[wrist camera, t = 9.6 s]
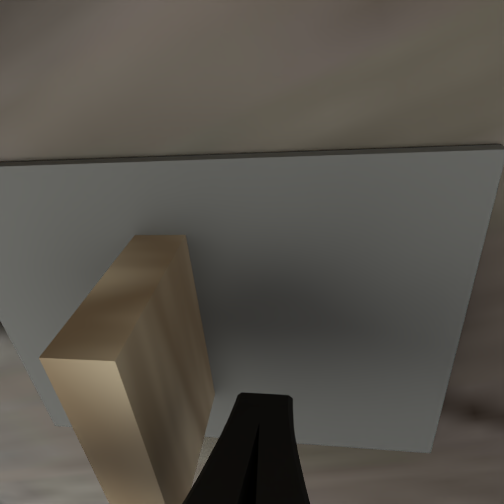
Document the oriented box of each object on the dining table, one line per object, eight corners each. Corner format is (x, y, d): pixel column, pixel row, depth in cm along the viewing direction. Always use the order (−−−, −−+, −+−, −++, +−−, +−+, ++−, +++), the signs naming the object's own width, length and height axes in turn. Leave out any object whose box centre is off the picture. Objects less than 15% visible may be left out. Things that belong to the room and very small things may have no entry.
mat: (500, 144, 10) (507, 149, 9) (428, 443, 16) (430, 453, 16) (-68, 164, 12) (-78, 169, 12) (59, 417, 18) (55, 425, 18)
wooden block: (185, 235, 12) (115, 361, 8) (215, 393, 15) (178, 540, 11) (134, 235, 12) (38, 357, 8) (175, 391, 16) (124, 534, 11)
